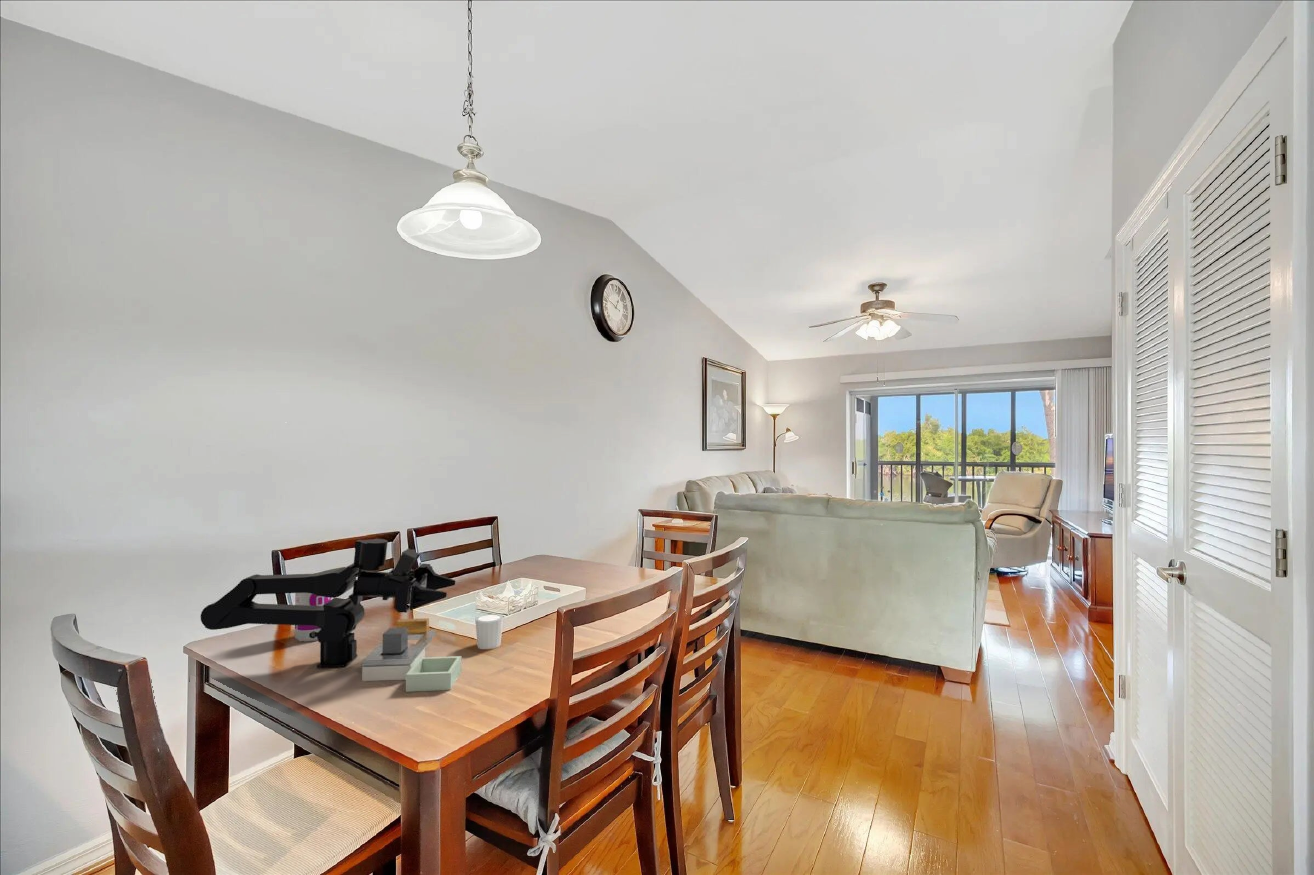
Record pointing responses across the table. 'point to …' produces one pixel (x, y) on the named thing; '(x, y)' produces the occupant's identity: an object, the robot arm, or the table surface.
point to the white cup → (489, 630)
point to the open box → (433, 673)
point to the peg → (395, 641)
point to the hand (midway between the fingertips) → (451, 588)
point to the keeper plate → (415, 631)
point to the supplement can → (311, 600)
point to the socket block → (388, 670)
